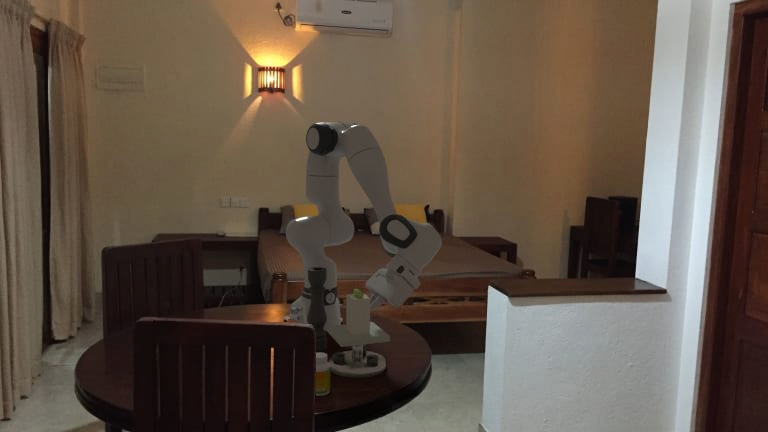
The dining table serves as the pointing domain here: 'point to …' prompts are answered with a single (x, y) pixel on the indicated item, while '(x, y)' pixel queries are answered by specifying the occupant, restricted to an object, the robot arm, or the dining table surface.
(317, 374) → the supplement bottle
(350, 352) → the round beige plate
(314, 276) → the candle holder
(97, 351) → the dining table surface
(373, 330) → the white stepped fixture
